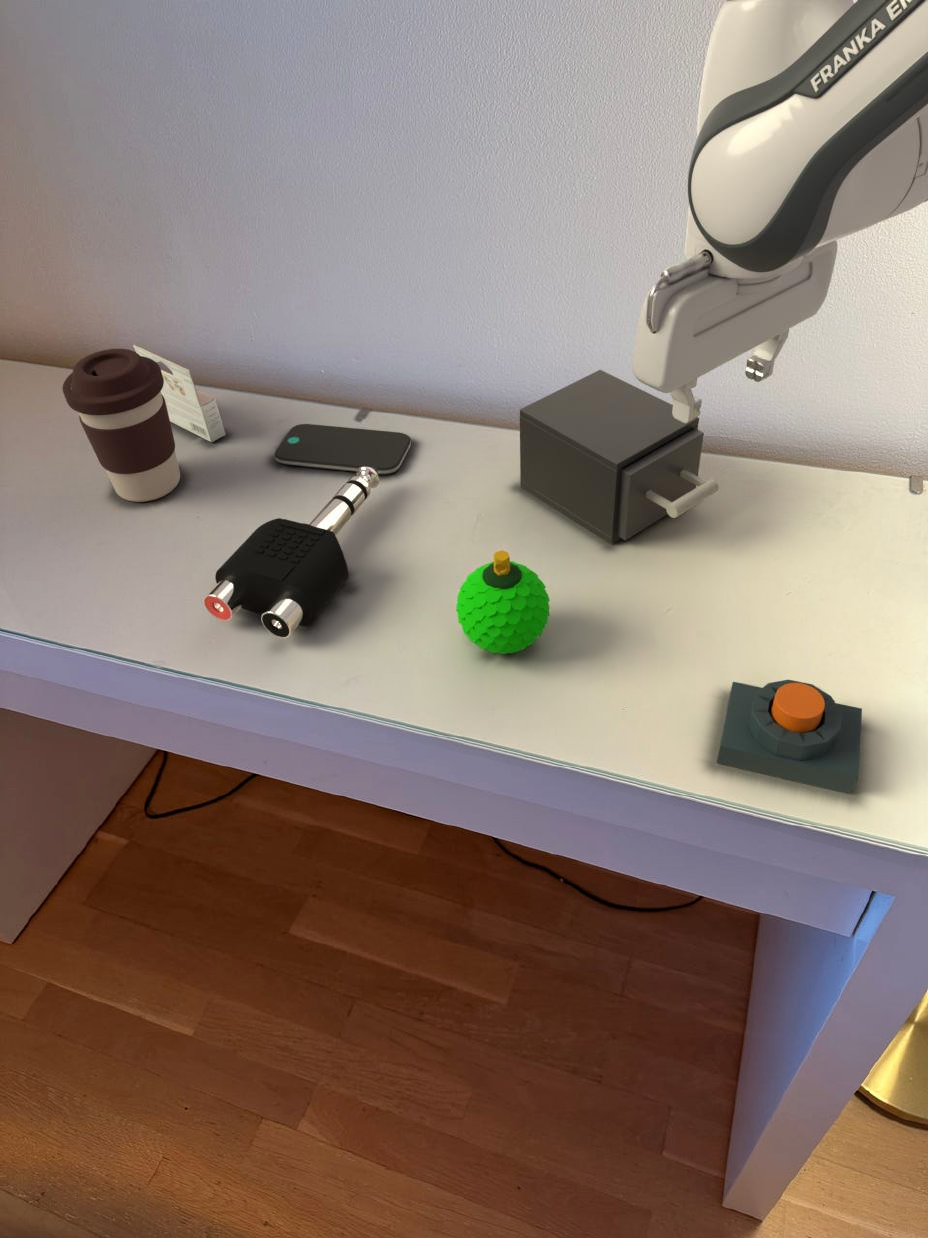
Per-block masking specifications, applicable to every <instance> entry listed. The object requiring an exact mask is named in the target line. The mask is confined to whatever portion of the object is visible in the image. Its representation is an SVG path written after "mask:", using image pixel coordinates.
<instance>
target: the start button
mask: <svg viewBox="0 0 928 1238" xmlns="http://www.w3.org/2000/svg"><path fill="white" fill-rule="evenodd" d="M824 708H825V701H824V698H823V697H822V695H821V694H820V693H819V692H818V691H817V690H816V689H814V688H813V687H811V686H809V685H806V684H802V683H789V684H786V685H783V686H782V687H780V688H779V689H778V690H777V692H776V695H775V698H774V702H773V706H772V711H771V712H772V716H773V719H774V720H775V722H776V723H777V724H778V725H779V726H781V727H782V728H784V729H786V730H788V731H792V732H797V733H806V732H810V731H812V730H814V729H815V728H816V727H817V726H818V725H819V723H820V720H821V717H822V714H823V711H824Z"/></svg>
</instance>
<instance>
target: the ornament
mask: <svg viewBox="0 0 928 1238" xmlns="http://www.w3.org/2000/svg"><path fill="white" fill-rule="evenodd" d="M509 554H510V553H509V552H508V551H505V550H504V549H503V550H497V551H495V552H494V553H493V561H491V562H488V563H486V564H483V565H481V566H479V567H477V568H476V569H475V570H473V571H472V572H471V573H469V574H468V576H467V577H466V580H465V581H464V582H463V583H462V584H461V586H460V588H459V589H460V590H459V591H458V594H457V597H456V598H457V600H456V601H457V602H456V606H455V609H456V612H457V621H458V624H460V625H461V629H462V632H463V634H464V635H465V636H466V637H467V638H468V639H469V640H470V642H472V643H473V644H475V646H477V648H478V647H479V649H481V650H483V649H485V651H487V652H488V653H491V654H495V653H497V654H501V655H506V654H513V653H514V654H515V653H516V652H520V651H524V650H525V649H526V648H527V647H530V646H531V645H532V644H534V642H535V641H536V639H537V638H540V637H541V636H542V634H543V631H544V629H545V628H546V626H547V625H548V621H549V617H550V603H549V602H550V601H551V600H550V597H549V594H548V592H547V590H546V588H547V586H546V585H545V583H544V582H543V581H542V580H541V579H540V578H539V575H538V574H537V573H536V572H535V571H533V570H531V569H530V568H529V567H527V566H526V565H523V564H522V563H518V562H515V561H513V560H511V557H510V555H509ZM469 640H468V641H469Z"/></svg>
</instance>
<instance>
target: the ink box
mask: <svg viewBox="0 0 928 1238" xmlns="http://www.w3.org/2000/svg"><path fill="white" fill-rule="evenodd" d="M132 346H133V349H134V351H135V352H136V353H138V354H139V355H140V356H143V357H147V358H150V359H152V360H154V361H155V362H156V363H157V364H159V363H162V364H163V365H164V366H166V368H168V369H169V370H170V371H171V373H170V372H168V371H165V370H163V369H161V372H162V375H163V379H164V385H163V388H162V390H161V394H162V395H163V397H164V399H165V402H166V406H167V411H168V415H169V419H170V423H172V424H174V425H176V426H177V427H180V428H182V429H183V430H186V431H188V432H190V433H192V434H194V435H196V436H197V437H199V438H202V439H203V440H206V441H208V442H209V443H214V442H215V441H217V440H219V439H221V438H223V437H225V436H226V432H225V429H224V425H223V422H222V419H221V415H220V409H219V407H218V404H217V400H216V398H215V397H213V396H211V395H209V394H206V393H205V392H202V391H200V390H198V389H196V386H195V385H196V384H195V381H194V380H193V376H192V373H191V370H190V369H188V368H186V367H183V366H182V365H180V364H177V363H175V362H173V361H171V360H168V359H167V358H164V357H162V356H160V355H158V354H157V353H153V352H151V351H149V350H147V349H144V348H143V347H140V346H138V345H136V344H132Z"/></svg>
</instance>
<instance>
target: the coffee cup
mask: <svg viewBox="0 0 928 1238" xmlns="http://www.w3.org/2000/svg"><path fill="white" fill-rule="evenodd" d="M161 370H162V369H161V366H160V365H159V363H156V362H155V361H154V360H152V359H150V358H147V357H143V356H140V355H139V354H138V353H136V351H135V350H132V349H127V348H108V349H103V350H99V351H96V352H93V353H91V354H88V355H86V356H85V357H83V358H81V359H80V360H79V361H77V362H76V364H75V365H74V366H73V369H72V372H71V373H70V374H69V375H67V377H66V378H65V380H64V381H63V384H62V388H61V389H62V393H63V396H64V398H65V401H66V403H67V405H68V406H69V408H70V409H72V410H73V411H75V412H77V413H78V415H79V416H78V418H79V423H80V424H81V427H82V429H83V431H84V433H85V436H86V437H87V439H88V441H89V443H90V445H91V448H92V450H93V451H94V453H95V456H96V458H97V460H98V462H99V464H100V465H101V467H102V468H103V469H104V470H105V473H106V474H107V476H108V478H109V480H110V482H111V485H112V487H113V489H114V491H115V493H116V494H117V495H118V496H119V497H120V498H122V499H123V500H126V501H128V502H129V501H130V502H134V503H135V502H137V503H143V502H149V501H153V500H157V499H161V498H163V497H165V496H166V495H168V494H169V493H171V492H172V491H173V490H175V488H176V487H177V486H178V484H179V482H180V480H181V471H180V467H179V463H178V458H177V455H176V450H175V449H176V441H175V437H174V433H173V428H172V425H171V422H170V419H169V415H168V411H167V406H166V402H165V399H164V397H163V395H162V394H161V390H162V388H163V385H164V379H163V375H162V372H161Z"/></svg>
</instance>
